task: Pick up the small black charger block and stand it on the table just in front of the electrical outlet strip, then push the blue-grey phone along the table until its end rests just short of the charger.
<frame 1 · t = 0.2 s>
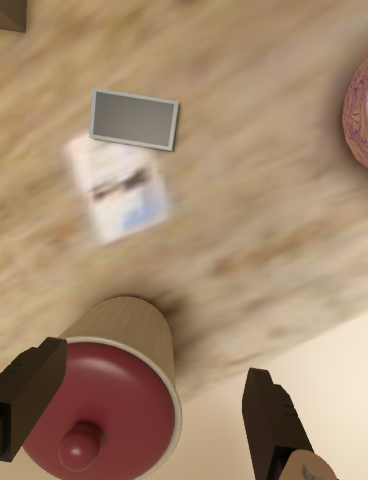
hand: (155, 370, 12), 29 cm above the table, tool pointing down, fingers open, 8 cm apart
phone: (136, 123, 37), on the table
canister: (130, 329, 44), on the table
charger: (7, 7, 35), on the table
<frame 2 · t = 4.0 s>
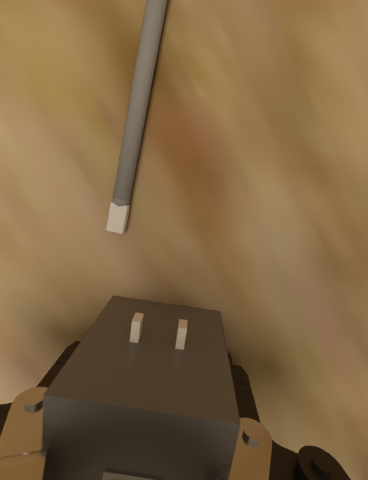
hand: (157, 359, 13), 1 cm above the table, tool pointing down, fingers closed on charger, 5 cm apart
cable: (146, 71, 11), on the table
charger: (159, 350, 13), on the table, touching gripper
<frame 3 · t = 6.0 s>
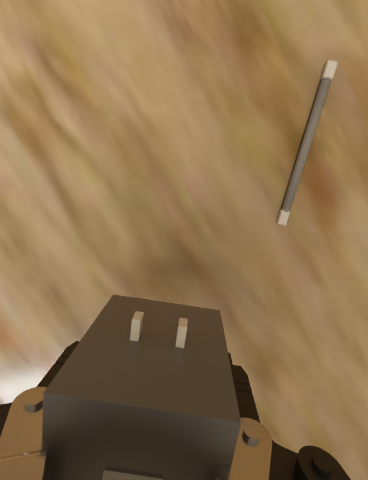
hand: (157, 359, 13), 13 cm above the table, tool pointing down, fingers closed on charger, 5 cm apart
cable: (303, 148, 23), on the table
charger: (160, 349, 13), point 12 cm above the table, touching gripper
when the fingers open (2 cm above the table, at t = 8.0 s): charger drops 1 cm, on the table.
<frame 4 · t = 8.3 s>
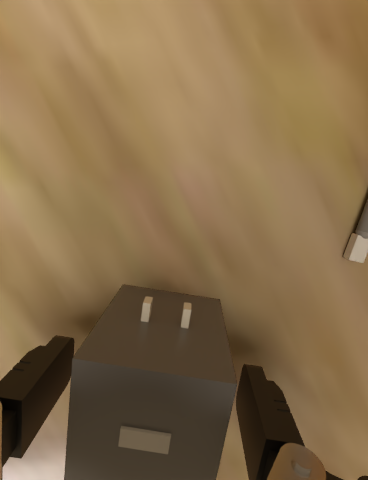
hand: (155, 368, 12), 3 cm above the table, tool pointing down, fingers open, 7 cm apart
charger: (165, 334, 15), on the table
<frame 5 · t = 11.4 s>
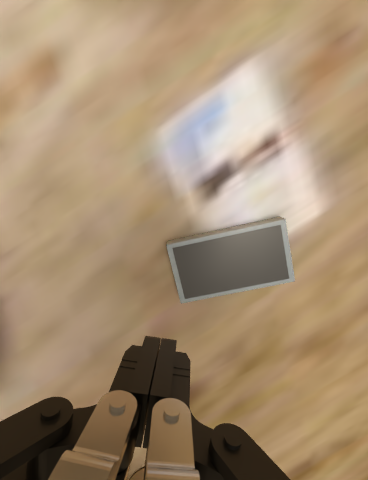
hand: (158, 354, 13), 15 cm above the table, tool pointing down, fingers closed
phone: (228, 256, 28), on the table
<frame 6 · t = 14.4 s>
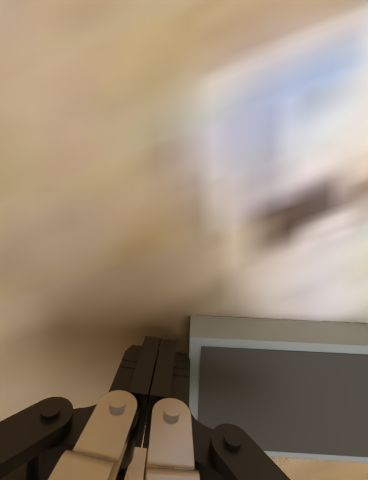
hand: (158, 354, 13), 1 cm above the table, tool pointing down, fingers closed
phone: (293, 370, 14), on the table
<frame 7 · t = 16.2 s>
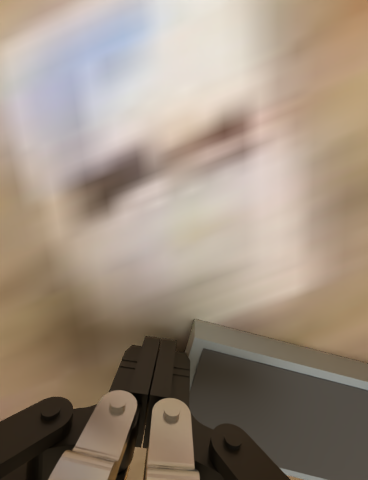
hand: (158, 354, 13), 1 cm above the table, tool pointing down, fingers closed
phone: (277, 387, 15), on the table
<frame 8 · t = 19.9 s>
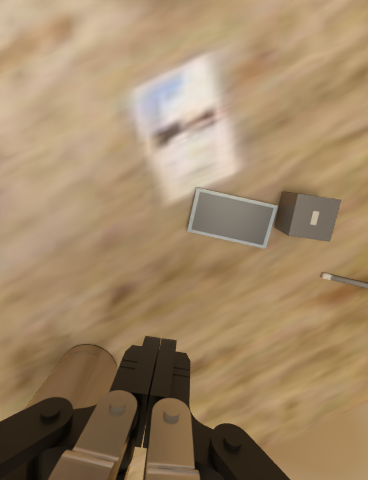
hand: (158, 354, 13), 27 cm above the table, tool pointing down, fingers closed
phone: (229, 216, 39), on the table
cable: (364, 284, 40), on the table
charger: (295, 212, 38), on the table
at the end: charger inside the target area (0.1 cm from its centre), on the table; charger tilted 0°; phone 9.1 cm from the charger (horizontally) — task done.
